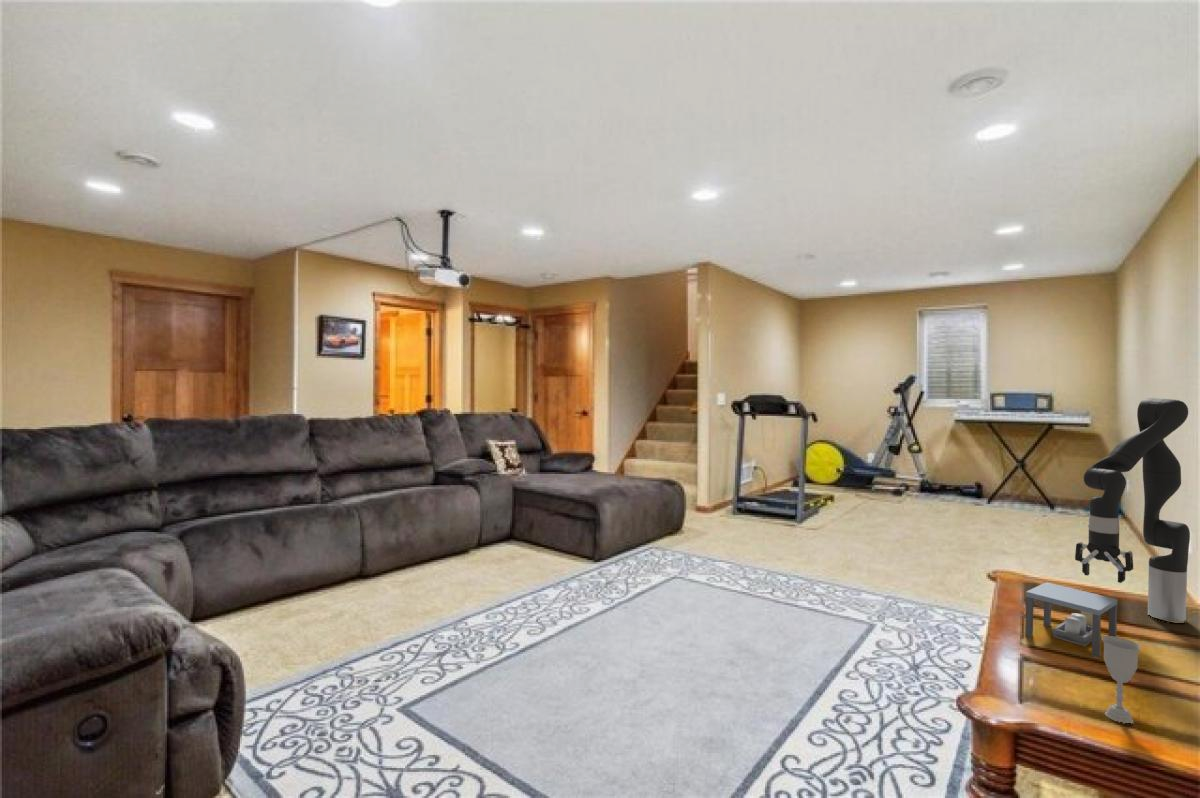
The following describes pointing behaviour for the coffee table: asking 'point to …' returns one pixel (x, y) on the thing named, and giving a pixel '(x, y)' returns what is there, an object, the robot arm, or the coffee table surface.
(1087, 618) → the tray
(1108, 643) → the chalice
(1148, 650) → the coffee table surface
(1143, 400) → the robot arm
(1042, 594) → the grey side table
